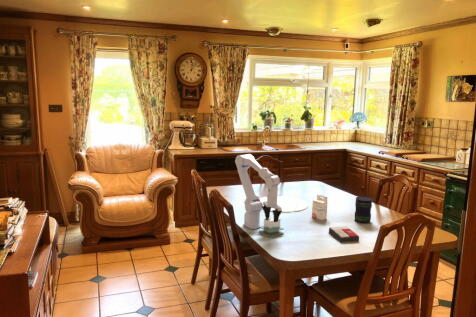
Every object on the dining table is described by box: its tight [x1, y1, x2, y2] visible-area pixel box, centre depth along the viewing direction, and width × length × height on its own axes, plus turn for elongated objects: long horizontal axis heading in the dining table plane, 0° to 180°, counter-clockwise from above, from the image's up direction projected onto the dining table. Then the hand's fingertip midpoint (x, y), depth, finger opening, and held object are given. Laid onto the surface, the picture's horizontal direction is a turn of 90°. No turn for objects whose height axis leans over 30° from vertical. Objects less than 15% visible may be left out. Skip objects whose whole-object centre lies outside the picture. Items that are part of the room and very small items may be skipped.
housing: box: [263, 216, 281, 230], centre depth 220 cm, size 5×10×5 cm, turn 124°
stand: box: [258, 225, 285, 238], centre depth 221 cm, size 10×10×4 cm
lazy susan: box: [259, 195, 309, 213], centre depth 280 cm, size 40×39×3 cm
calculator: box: [328, 225, 360, 243], centre depth 217 cm, size 11×4×15 cm
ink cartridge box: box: [311, 194, 328, 221], centre depth 249 cm, size 9×5×15 cm, turn 44°
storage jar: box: [353, 196, 373, 225], centre depth 244 cm, size 10×10×15 cm
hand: (271, 220), depth 220 cm, fingers open, 7 cm apart
